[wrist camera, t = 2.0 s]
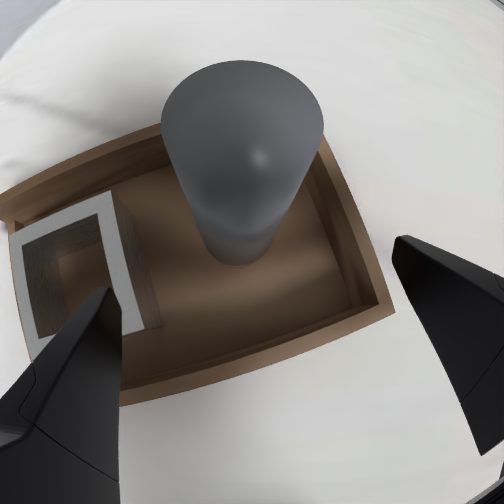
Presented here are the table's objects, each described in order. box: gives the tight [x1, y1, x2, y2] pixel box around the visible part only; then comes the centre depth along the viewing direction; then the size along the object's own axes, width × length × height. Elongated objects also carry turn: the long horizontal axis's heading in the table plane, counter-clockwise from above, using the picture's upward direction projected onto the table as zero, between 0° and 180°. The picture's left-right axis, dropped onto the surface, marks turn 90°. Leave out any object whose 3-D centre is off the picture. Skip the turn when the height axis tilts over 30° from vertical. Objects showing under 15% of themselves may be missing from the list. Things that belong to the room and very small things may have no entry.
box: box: [0, 123, 396, 407], centre depth 18 cm, size 15×23×4 cm, turn 109°
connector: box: [161, 60, 324, 268], centre depth 13 cm, size 4×4×13 cm
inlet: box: [9, 190, 165, 360], centre depth 17 cm, size 8×8×4 cm
